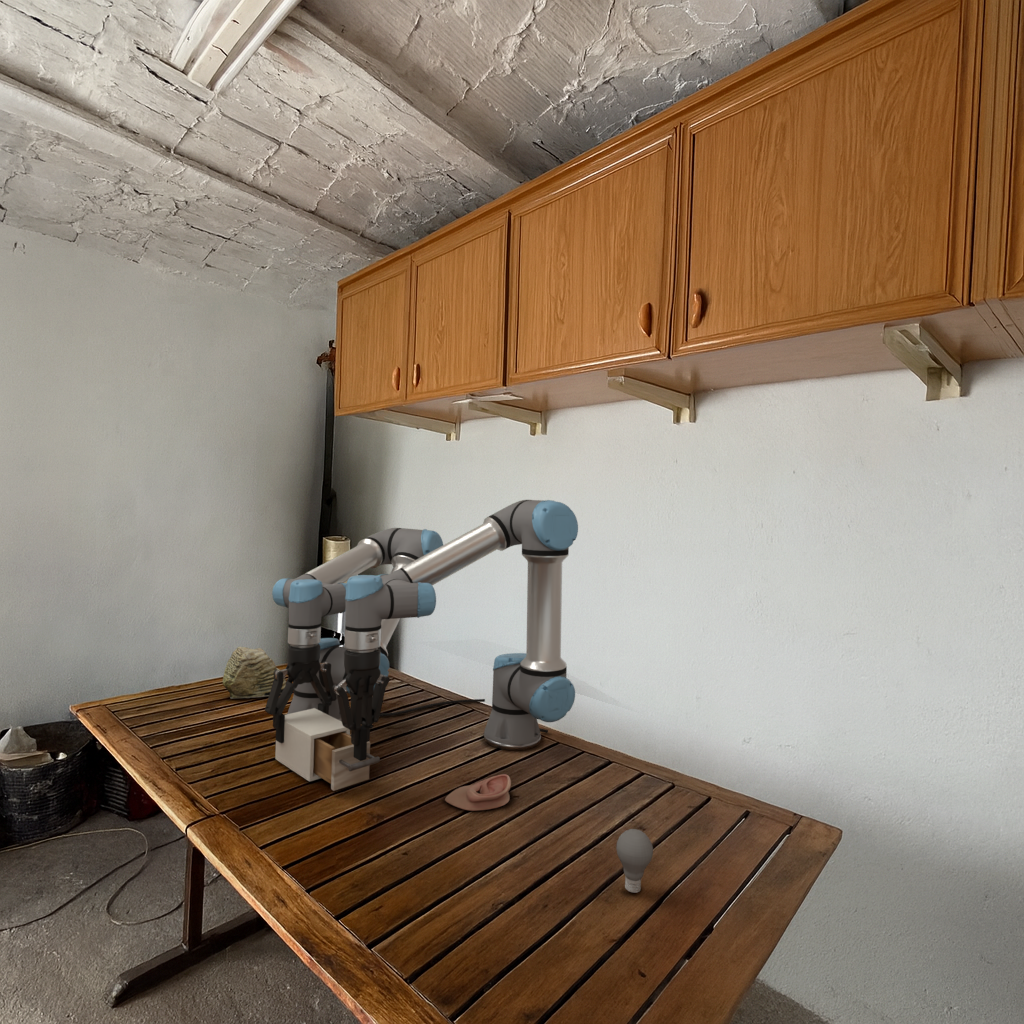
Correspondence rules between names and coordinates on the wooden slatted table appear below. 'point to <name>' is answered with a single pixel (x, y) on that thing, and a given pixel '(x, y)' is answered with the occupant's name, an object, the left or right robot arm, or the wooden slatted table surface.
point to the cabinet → (305, 739)
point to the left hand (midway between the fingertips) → (300, 735)
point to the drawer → (340, 761)
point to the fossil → (249, 673)
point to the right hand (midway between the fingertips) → (360, 757)
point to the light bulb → (634, 857)
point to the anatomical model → (482, 794)
